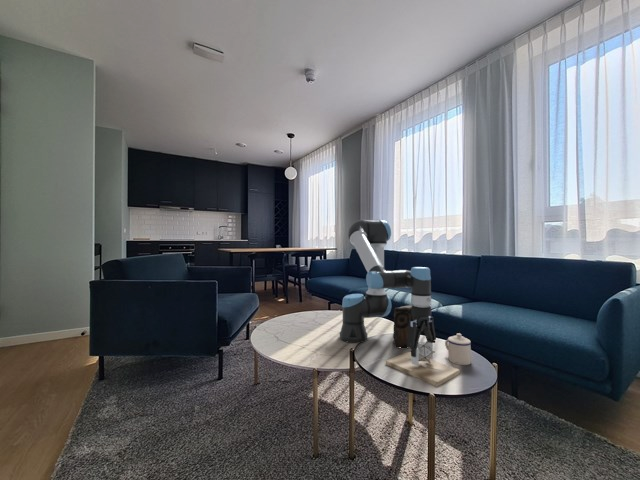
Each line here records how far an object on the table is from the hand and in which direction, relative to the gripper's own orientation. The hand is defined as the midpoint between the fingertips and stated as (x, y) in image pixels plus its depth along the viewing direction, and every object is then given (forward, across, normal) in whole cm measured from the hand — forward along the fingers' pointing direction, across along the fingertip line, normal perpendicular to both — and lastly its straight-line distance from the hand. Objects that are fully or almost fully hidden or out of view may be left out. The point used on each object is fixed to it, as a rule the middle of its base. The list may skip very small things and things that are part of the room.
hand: (422, 361), depth 108 cm
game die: (0, 0, 0) cm, 0 cm away
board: (+3, 0, +1) cm, 3 cm away
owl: (+3, +18, +22) cm, 29 cm away
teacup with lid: (+3, +20, -4) cm, 21 cm away
